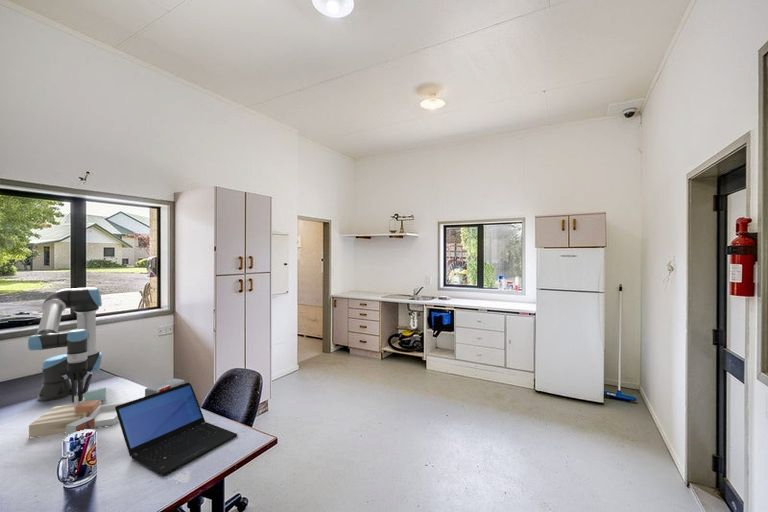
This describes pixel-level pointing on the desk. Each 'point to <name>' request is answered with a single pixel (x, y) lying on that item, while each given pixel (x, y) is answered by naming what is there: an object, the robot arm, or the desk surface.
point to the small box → (80, 425)
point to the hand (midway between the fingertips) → (77, 407)
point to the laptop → (168, 429)
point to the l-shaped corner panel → (95, 395)
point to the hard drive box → (163, 386)
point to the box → (105, 415)
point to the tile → (87, 406)
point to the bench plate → (55, 421)
